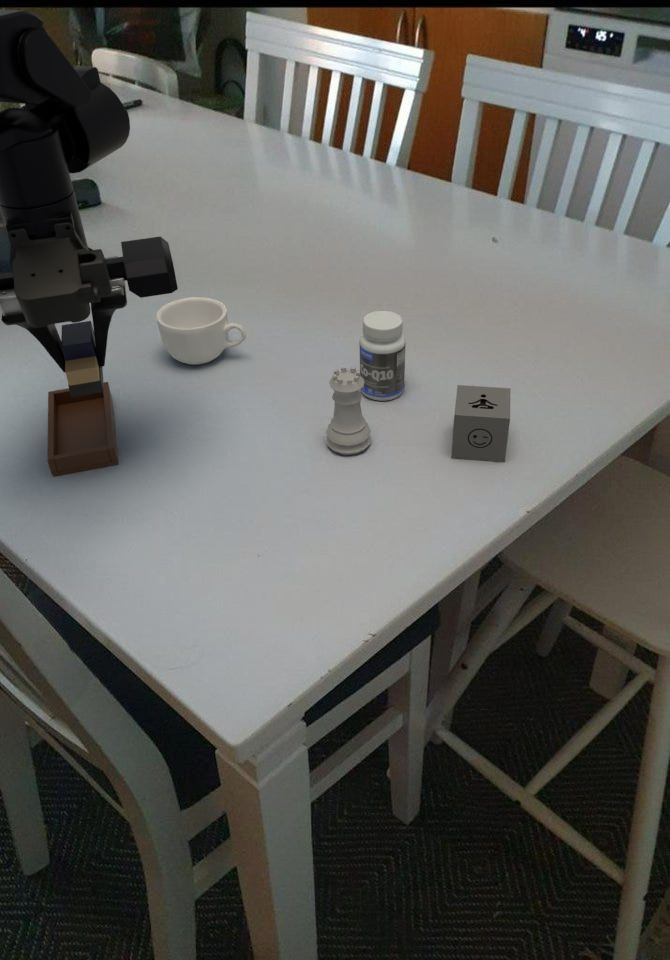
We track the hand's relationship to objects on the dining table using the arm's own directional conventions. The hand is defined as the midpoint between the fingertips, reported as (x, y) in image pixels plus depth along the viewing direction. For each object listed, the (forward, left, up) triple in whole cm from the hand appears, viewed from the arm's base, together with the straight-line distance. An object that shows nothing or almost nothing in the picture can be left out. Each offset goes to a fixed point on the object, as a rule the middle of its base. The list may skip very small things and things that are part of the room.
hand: (84, 367), depth 72 cm
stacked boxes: (0, 0, -1) cm, 1 cm away
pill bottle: (+29, +3, -11) cm, 31 cm away
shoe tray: (-2, +5, -10) cm, 12 cm away
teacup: (+12, +16, -11) cm, 23 cm away
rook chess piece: (+23, -5, -11) cm, 26 cm away
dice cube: (+35, -9, -11) cm, 38 cm away
